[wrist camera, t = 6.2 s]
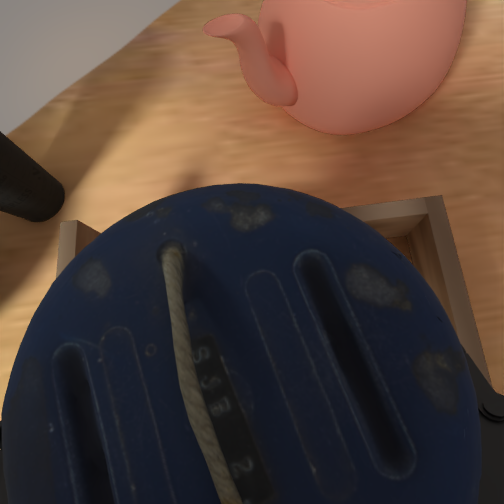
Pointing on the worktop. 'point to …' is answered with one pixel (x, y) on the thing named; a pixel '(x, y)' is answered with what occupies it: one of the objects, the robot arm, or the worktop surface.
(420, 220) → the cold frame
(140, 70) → the worktop surface
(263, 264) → the canister
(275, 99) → the teapot
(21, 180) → the drinking cup
